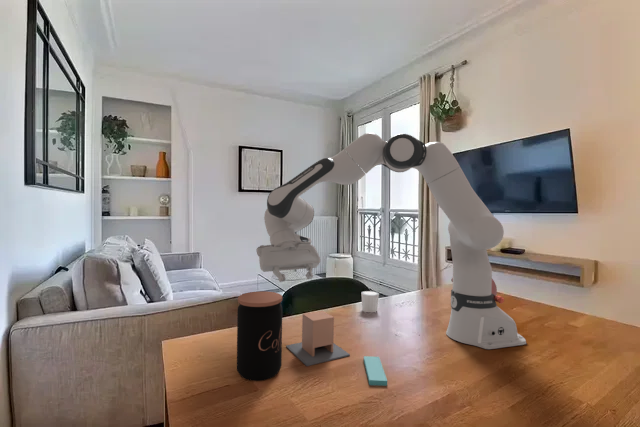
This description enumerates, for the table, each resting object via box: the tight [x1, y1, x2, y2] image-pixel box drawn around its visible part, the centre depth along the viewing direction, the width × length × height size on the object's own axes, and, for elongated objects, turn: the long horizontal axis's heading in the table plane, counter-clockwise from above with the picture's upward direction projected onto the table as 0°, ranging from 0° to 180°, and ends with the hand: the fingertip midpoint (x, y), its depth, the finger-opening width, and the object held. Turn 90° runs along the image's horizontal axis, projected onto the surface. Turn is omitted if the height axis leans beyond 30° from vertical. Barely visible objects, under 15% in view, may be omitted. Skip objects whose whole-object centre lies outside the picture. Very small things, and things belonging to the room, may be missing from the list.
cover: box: [301, 310, 335, 357], centre depth 91 cm, size 6×6×10 cm
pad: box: [285, 341, 351, 367], centre depth 91 cm, size 13×13×1 cm
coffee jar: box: [236, 290, 283, 382], centre depth 79 cm, size 11×11×18 cm
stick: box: [363, 355, 388, 387], centre depth 80 cm, size 4×12×2 cm, turn 179°
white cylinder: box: [360, 290, 380, 313], centre depth 128 cm, size 7×7×7 cm
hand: (296, 279), depth 103 cm, fingers open, 8 cm apart
